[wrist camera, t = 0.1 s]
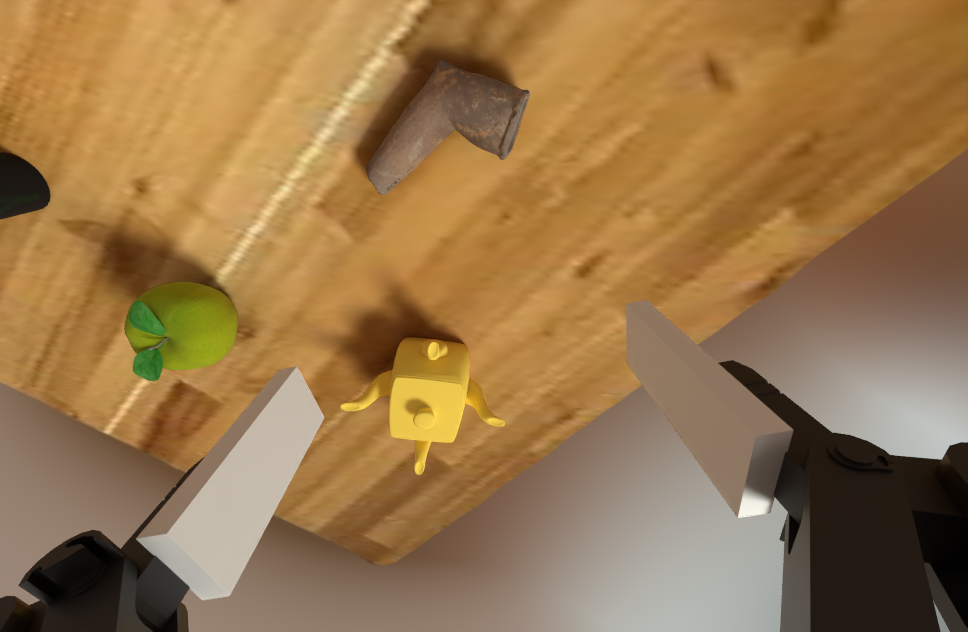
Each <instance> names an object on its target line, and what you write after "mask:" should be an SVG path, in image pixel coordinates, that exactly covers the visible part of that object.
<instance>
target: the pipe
mask: <svg viewBox="0 0 968 632" xmlns="http://www.w3.org/2000/svg"><path fill="white" fill-rule="evenodd" d="M529 93H530V92H529V91H528V90H522V89H520V88H517V87H515V86H512V85H509V84H506V83H503V82H501V81H499V80H496V79H493V78H489V77H487V76H484V75H479V74H477V73H470V72H467V71H465V70H462V69H460V68H458V67H455V66H454V65H452V64H450V63H448V62H446V61H444V60H440V61H438V62H437V63H436V65H435V68H434V70H433V71H432V73H431V75H430V77H429V78H428V80H427V82H426V83H425V85H424V86H423V87H422V89H421V90H420V91H419V92H418V93H417V95H416V96H415V97H414V98H413V100H412V101H411V102H410V103H409V104H408V106H407V107H406V109H405V110H404V111H403V113H402V114H401V116H400V117H399V119H398V120H397V122H396V123H395V125H394V126H393V127H392V129H391V130H390V131H389V133H388V134H387V136H386V137H385V139H384V140H383V142H382V143H381V144H380V146H379V148H378V149H377V151H376V152H375V154H374V155H373V157H372V158H371V160H370V162H369V163H368V164H367V166H366V173H367V175H368V179H369V180H370V181H371V182H372V184H373V185H374V186H375V188H376V189H377V191H378V193H379V194H381V195H385V194H387V193H388V192H390V191H391V190H392V189H393V188H394V187H395V186H396V185H397V184H398V183H400V182H401V181H402V180H403V179H404V178H405V177H406V176H407V175H408V174H410V173H411V172H412V171H413V170H414V169H415V168H416V167H417V166H418V165H419V164H420V163H421V162H422V161H423V160H424V159H425V158H426V157H427V156H428V155H429V154H430V153H431V152H432V151H433V150H434V149H435V148H436V147H437V146H438V145H439V144H440V143H441V142H442V141H443V140H444V139H445V138H446V137H447V136H448V135H449V134H450V133H451V132H453V131H454V130H456V131H458V132H459V133H460V134H462V135H463V136H464V137H465V138H466V139H467V140H468V141H469V142H471V143H473V144H474V145H476V146H477V147H479V148H481V149H483V150H485V151H488V152H491V153H493V154H496V155H497V156H498V157H499V158H500V159H501V160H504V159H506V157H507V156H508V155H509V153H510V152H511V150H512V148H513V145H514V142H515V139H516V136H517V134H518V131H519V128H520V124H521V120H522V116H523V113H524V111H525V108H526V106H527V103H528V99H529V95H530V94H529Z"/></svg>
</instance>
